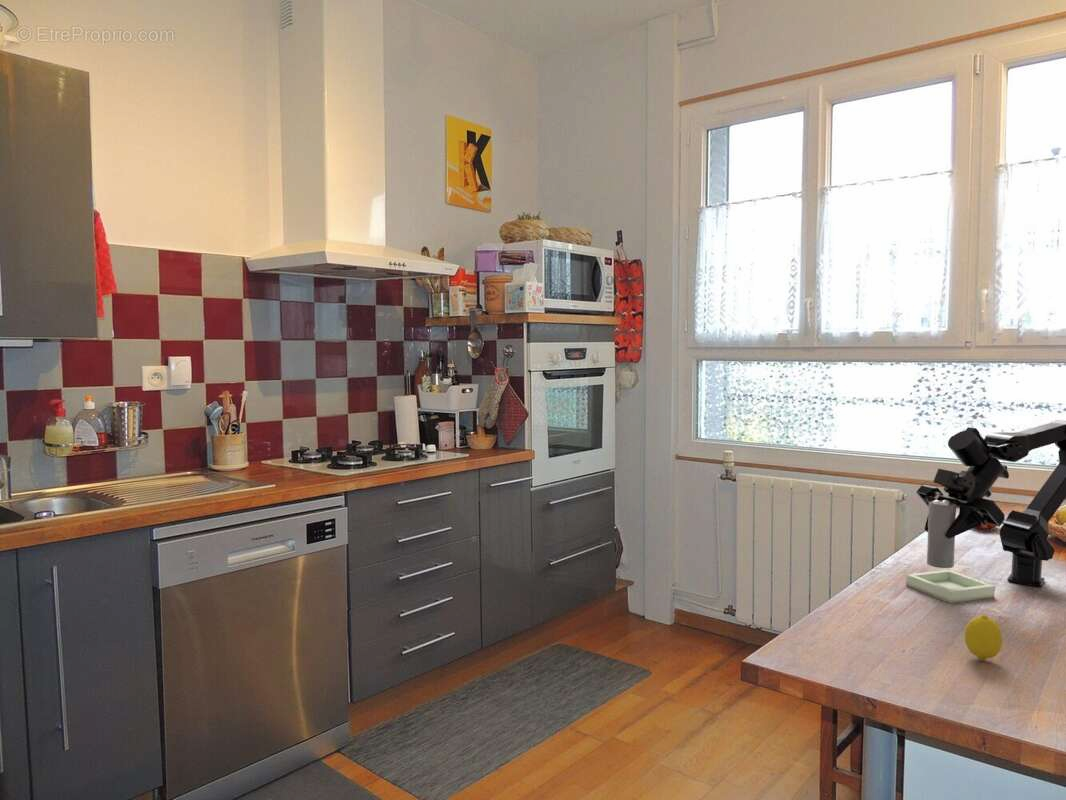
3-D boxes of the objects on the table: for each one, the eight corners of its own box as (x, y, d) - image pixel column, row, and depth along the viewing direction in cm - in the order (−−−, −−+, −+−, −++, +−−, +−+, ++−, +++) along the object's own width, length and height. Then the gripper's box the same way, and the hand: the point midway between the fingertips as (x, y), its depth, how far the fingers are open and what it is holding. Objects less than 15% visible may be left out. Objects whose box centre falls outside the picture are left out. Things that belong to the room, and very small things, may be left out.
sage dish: (948, 580, 173) (948, 569, 172) (994, 597, 161) (995, 586, 161) (906, 585, 169) (906, 574, 169) (950, 603, 158) (950, 591, 157)
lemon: (1006, 668, 127) (1009, 622, 126) (970, 665, 128) (972, 619, 127) (993, 655, 132) (995, 610, 131) (959, 652, 133) (961, 608, 132)
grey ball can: (929, 559, 167) (931, 497, 166) (956, 563, 164) (958, 500, 163) (924, 565, 163) (926, 501, 162) (951, 569, 160) (953, 504, 159)
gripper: (924, 449, 172) (883, 501, 170) (996, 462, 154) (952, 520, 152) (950, 481, 175) (910, 532, 173) (1024, 497, 157) (981, 554, 155)
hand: (936, 534), depth 163 cm, fingers closed on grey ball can, 5 cm apart
